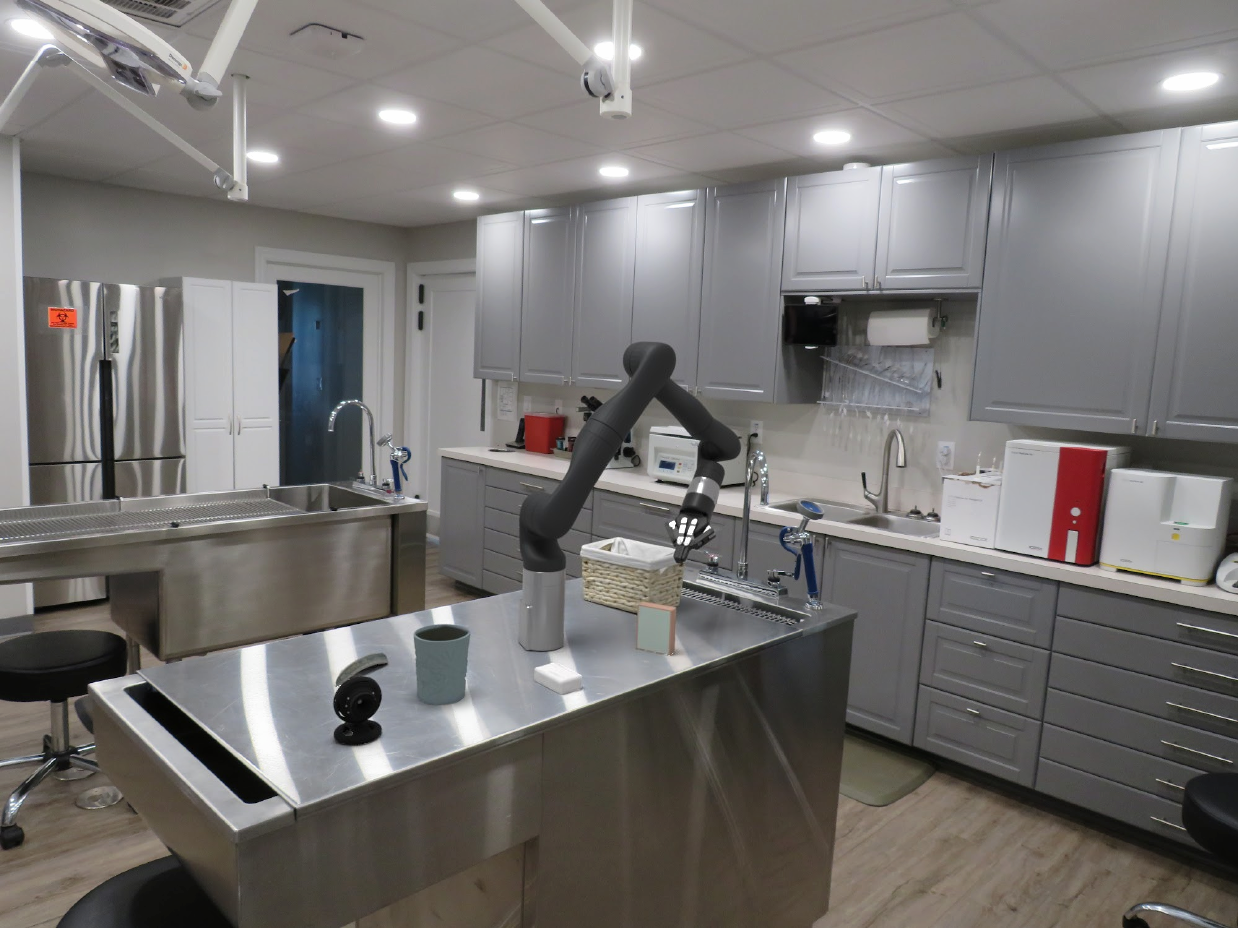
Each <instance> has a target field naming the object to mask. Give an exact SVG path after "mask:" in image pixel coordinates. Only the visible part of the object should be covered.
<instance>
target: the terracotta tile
mask: <svg viewBox="0 0 1238 928" xmlns="http://www.w3.org/2000/svg"><path fill="white" fill-rule="evenodd" d="M636 614H637V617H636V636H635V637H636V639H635V642H636V643H635V650H639V649H641V651H644V650H647V651H646V652H648V651H649V652H648V653H653V652H656V653H655V654H658V653H659V655H663V654H667V655H666V656H668V655H670V656H672V655H673V654H674V653H675V647H676V626H677V625H676V624H677V606H676V607H670V606H665V605H659V604H654V603H648V602H641V603H639V604H638V612H637V613H636ZM673 652H674V653H673ZM672 653H673V654H672ZM671 654H672V655H671Z"/></svg>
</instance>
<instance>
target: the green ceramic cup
mask: <svg viewBox="0 0 1238 928" xmlns="http://www.w3.org/2000/svg"><path fill="white" fill-rule="evenodd" d="M470 639H471V630H470V629H469V628H467V627H465V626H463V625H458V624H450V623H449V624H447V623H441V624H440V623H439V624H438V623H437V624H430V625H426V626H423V627H420V628H418V629H416V630H415V631H414V632H413V644H414V645H413V646H414V653H415V659H414V661H415V674H416V690H417V691H416V693H417V698H418V700H419V701H421V702H423V703H424V704H427V705H432V706H433V705H434V706H441V705H443V706H445V705H450V704H455V703H457V702H460V701H461V700H462V699H463V698H464V697H465V695H466V686H467V685H466V684H467V680H466V677H467V673H468V663H469V660H468V657H469V647H470V642H471V640H470Z"/></svg>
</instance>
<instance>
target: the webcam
mask: <svg viewBox="0 0 1238 928" xmlns="http://www.w3.org/2000/svg"><path fill="white" fill-rule="evenodd" d="M382 699H383V693H382V689H381V687H380V685H379V683H378V681H377V680H375V679H374V678H372V677H369V676H365V675H358V676H352V677H350V678H349V679H348V680H347V681H345V682H343V683H342V684H341V686H338V688H337V689H336V691H335V694H334V696H333V699H332V700H333V701H332V708H333V710H334V714H335V715H336V717H337V718H338V719H340V720H341V721H342V722H343V723H341V724H339V725H338V726H337V727H336V728H334V731H333V737H334V740H335V741H336V742H338V743H339V744H341V745H345V746H346V745H347V746H361V745H366V744H370V743H373V742H374V741H376V740H377V739H379V737H380V736H381V735H382V733H383V728H382V725H381V723H379V722H377V721H375V720H371V718H372V717H373V716H374V715H375V714H376V713H377V712H378V710H379V709H380V707H381V704H382ZM349 731H351V735H349V734H345V732H349Z"/></svg>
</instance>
